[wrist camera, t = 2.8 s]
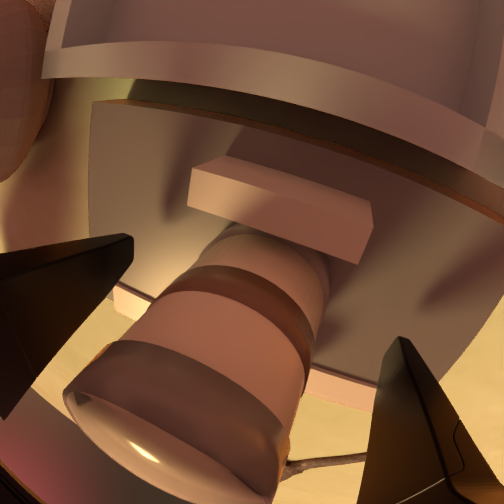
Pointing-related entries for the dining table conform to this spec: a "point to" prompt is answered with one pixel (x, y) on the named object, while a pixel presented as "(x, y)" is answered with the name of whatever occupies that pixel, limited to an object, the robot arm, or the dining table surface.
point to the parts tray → (313, 60)
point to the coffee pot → (21, 82)
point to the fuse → (211, 371)
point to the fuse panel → (299, 231)
